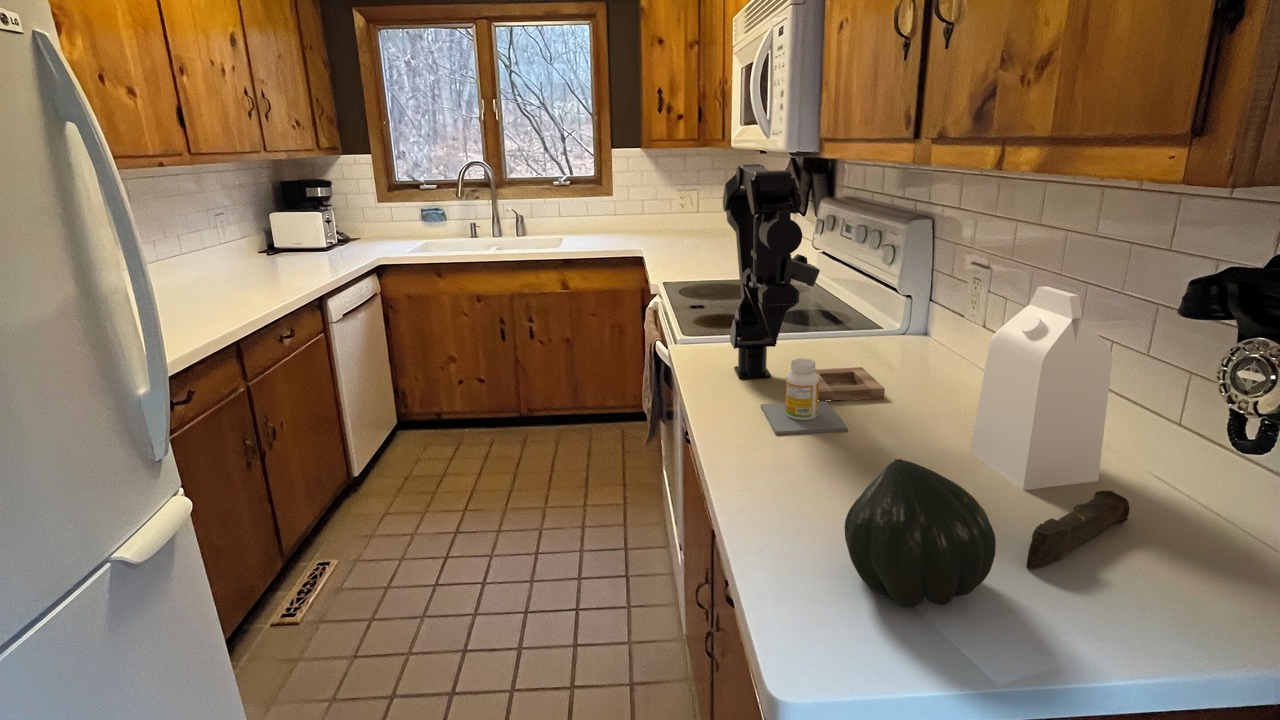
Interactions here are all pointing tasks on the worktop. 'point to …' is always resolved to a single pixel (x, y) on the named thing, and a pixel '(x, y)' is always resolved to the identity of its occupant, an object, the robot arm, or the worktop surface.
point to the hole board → (862, 389)
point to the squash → (919, 536)
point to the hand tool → (1075, 527)
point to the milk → (1044, 396)
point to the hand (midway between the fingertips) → (768, 331)
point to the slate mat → (786, 425)
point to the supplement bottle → (802, 390)
